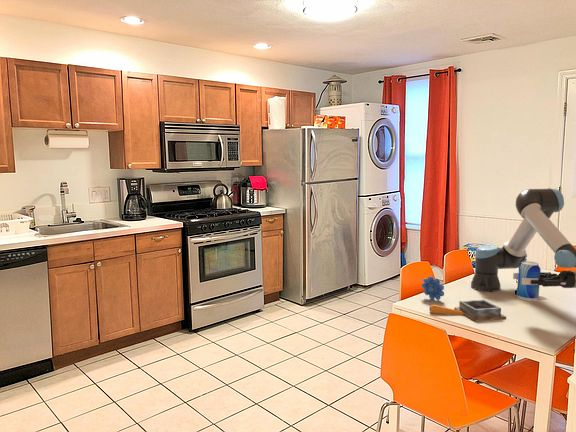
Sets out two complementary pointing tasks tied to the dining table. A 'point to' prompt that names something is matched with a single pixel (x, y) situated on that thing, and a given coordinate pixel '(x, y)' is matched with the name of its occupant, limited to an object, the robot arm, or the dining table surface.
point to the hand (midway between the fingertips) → (517, 278)
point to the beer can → (528, 271)
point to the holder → (480, 310)
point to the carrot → (444, 310)
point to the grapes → (433, 288)
